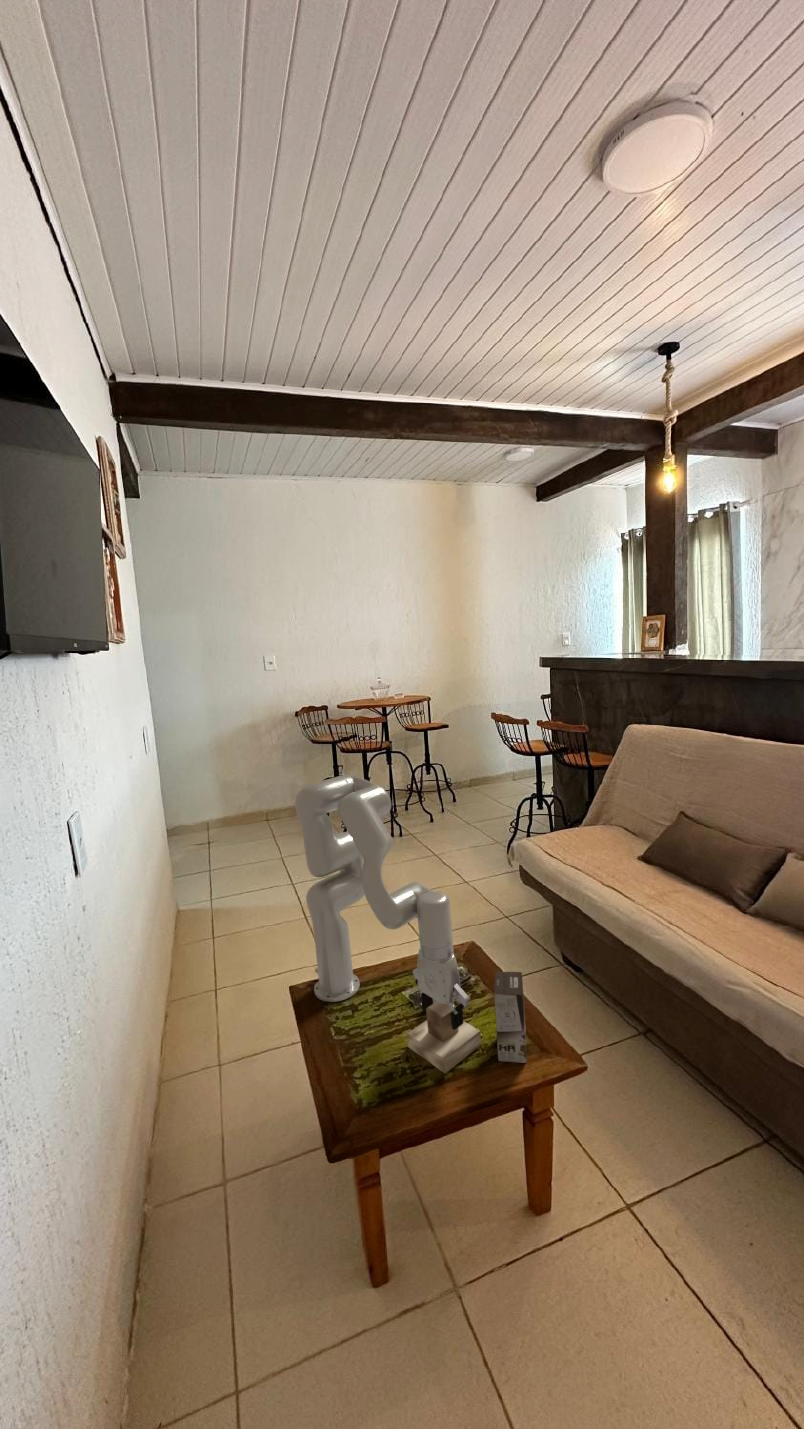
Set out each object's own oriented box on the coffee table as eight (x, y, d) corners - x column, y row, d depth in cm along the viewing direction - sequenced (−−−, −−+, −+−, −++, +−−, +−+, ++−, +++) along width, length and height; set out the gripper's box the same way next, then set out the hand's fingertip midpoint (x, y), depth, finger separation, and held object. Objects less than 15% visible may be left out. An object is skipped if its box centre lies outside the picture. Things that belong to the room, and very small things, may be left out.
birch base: (408, 1049, 131) (407, 1033, 130) (444, 1023, 138) (443, 1008, 138) (445, 1075, 122) (444, 1058, 121) (481, 1046, 129) (480, 1030, 129)
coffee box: (527, 1063, 122) (523, 995, 120) (497, 1061, 124) (493, 994, 122) (526, 1035, 131) (522, 971, 129) (499, 1033, 133) (494, 970, 131)
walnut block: (428, 1032, 130) (426, 1008, 129) (443, 1021, 133) (441, 998, 132) (443, 1042, 126) (441, 1018, 125) (458, 1031, 129) (456, 1007, 128)
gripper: (399, 941, 131) (405, 1008, 133) (453, 968, 118) (458, 1043, 120) (422, 928, 136) (427, 994, 138) (476, 954, 123) (481, 1025, 125)
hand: (442, 1016), depth 129 cm, fingers open, 9 cm apart
